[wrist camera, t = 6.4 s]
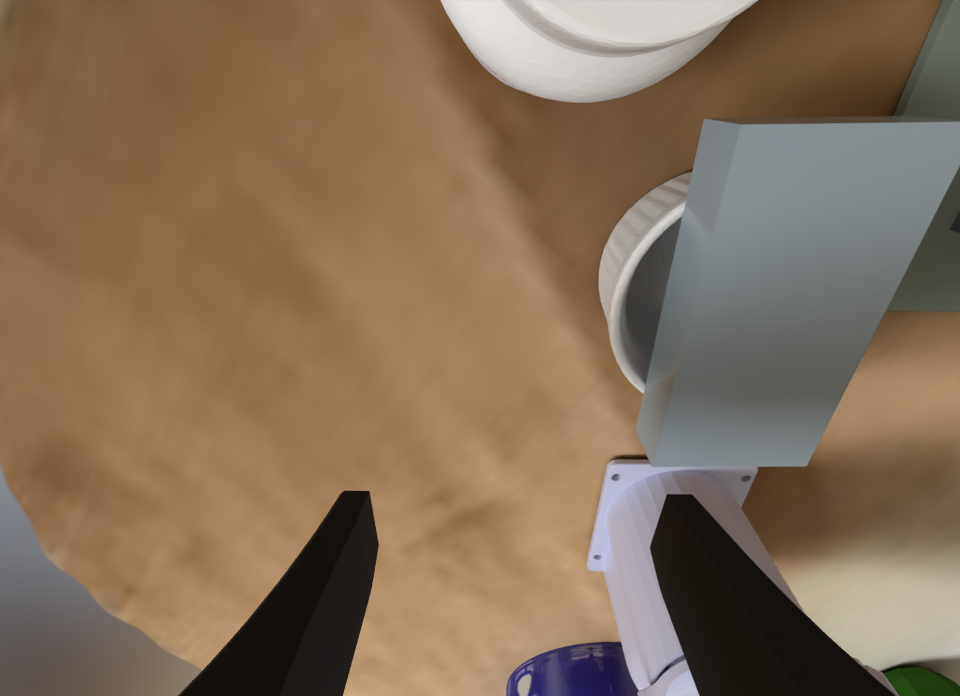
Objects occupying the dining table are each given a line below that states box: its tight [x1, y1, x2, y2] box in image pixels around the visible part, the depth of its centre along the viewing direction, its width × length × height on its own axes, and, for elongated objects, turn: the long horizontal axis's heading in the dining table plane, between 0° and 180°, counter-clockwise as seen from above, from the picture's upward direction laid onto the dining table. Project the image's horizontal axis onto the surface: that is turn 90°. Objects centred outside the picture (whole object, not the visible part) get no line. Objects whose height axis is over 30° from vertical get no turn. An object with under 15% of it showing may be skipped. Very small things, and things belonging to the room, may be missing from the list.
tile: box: [635, 116, 960, 467], centre depth 14 cm, size 11×6×2 cm, turn 1°
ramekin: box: [599, 171, 692, 393], centre depth 17 cm, size 9×9×4 cm
